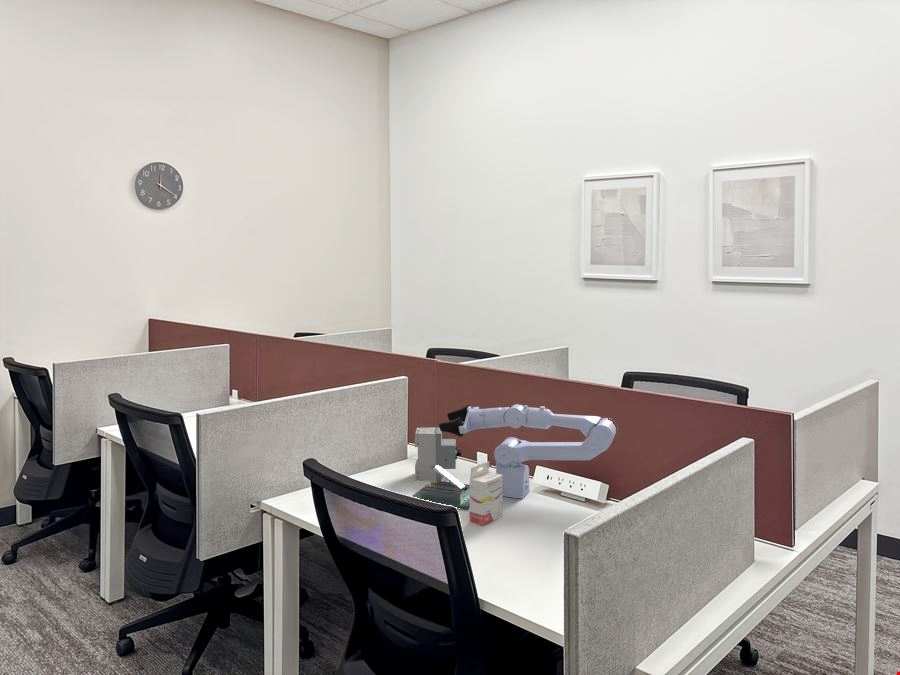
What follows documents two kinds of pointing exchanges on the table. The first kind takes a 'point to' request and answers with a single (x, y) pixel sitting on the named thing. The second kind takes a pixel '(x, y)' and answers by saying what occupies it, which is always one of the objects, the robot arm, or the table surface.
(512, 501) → the table surface
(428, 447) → the circuit breaker
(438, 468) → the grey flat bar
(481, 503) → the ink cartridge box
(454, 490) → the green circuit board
